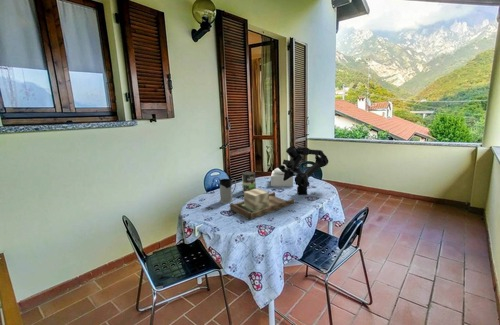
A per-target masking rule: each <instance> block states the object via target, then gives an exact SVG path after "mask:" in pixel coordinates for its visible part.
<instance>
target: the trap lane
mask: <svg viewBox="0 0 500 325" xmlns="http://www.w3.org/2000/svg"><path fill="white" fill-rule="evenodd" d="M294 204H295V199H294V198H291V199H288V200H286V199H282V198H280V197H277V196H276V192H269V206H267V207H264V208H261V209H258V210H253V209H251V208H249V207H247V206H245V204H244V200H243V201H239V202H237V203H233V202H231V203H229V207H230V208H229V209H230V211H232V212H234V213H236V214H237V215H240V216H242V217H244V218H245V219H247V220H249V221H250V220H252V219H255V218H258V217H261V216H264V215H268V214H270V213H272V212H276V211H278V210H280V209H283V208H287V207H290V206H292V205H294Z"/></svg>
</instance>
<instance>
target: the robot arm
mask: <svg viewBox="0 0 500 325" xmlns="http://www.w3.org/2000/svg"><path fill="white" fill-rule="evenodd" d="M285 152H286V153H287V156H289V157H290V158H291V159H290V160H288V159H283V161H282V164H279V165H278V167H277V168H279V169H280V170H281V171H282V172H284V178H283V180H284V181H286V180H287V179H289V178H290V177H292V176H293V177H294V183H295V185H296V186H297V187H296V188H297V189H296V190H297V191H296V193H297V195H299V196H300V195H301V196H304V195H305V196H307V195H308V188H309V187H310V184H311V183H310V181H309V178H310V177H311V176H313V174H315V173H316V172H317V171H318V170H319V169H320V168H324V167H326V166H327V165H328V164H329V159H328V156H327V155H326V154H325V153H324V151H323V150H321V149H311V148H309V147H306V146H297V148H296V146H295V145H290V146H289V147H288V148H286V151H285ZM309 155H313V156H315V157H314V159H315V163H314V164H312V165H311V166H310V167H309V168H307V169H306V170H305V171H304V172H303V171H302V170H301V169H300V168H299V167H300V163H301V161H302V162H303V161H304V160H305V158H304V156H309ZM284 165H285V166H286V167H285V166H284ZM295 174H296V175H295Z"/></svg>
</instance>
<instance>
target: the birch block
mask: <svg viewBox="0 0 500 325" xmlns="http://www.w3.org/2000/svg"><path fill="white" fill-rule="evenodd" d="M269 193H270V192H269V191H267V190H264V189H261V188H258V187H256V189H253V190H249V191H245V192H243V201H244V204H245V206H247V207H249V208H251V209H253V210H258V209H261V208H264V207H267V206H269Z"/></svg>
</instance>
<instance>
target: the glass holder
mask: <svg viewBox="0 0 500 325" xmlns="http://www.w3.org/2000/svg"><path fill="white" fill-rule="evenodd" d="M233 182H234V183H235V184H234V189H233V190H232V185H233ZM236 186H237V180H236V179H232V180H231V178H221V179H219V192H220V195H219V196H220V197H219V198H220V200H219V201H220V202H219V203H221V204H231V203H233V193H234V192H235V190H236Z"/></svg>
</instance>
